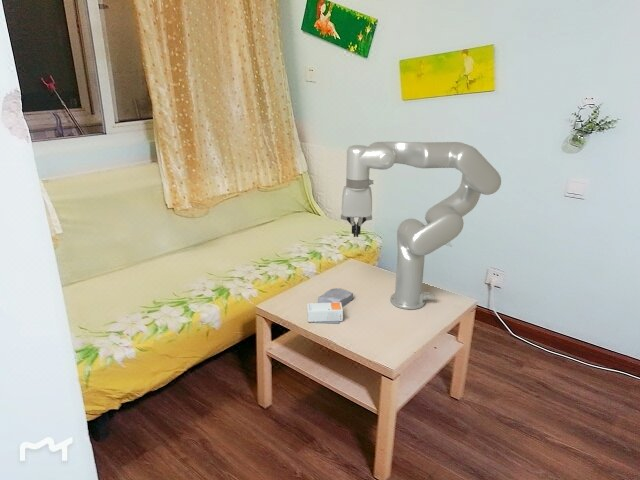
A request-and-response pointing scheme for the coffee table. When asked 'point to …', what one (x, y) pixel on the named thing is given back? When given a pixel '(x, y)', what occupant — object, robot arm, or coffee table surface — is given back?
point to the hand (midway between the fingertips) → (355, 235)
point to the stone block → (336, 296)
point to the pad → (329, 322)
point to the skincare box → (324, 312)
